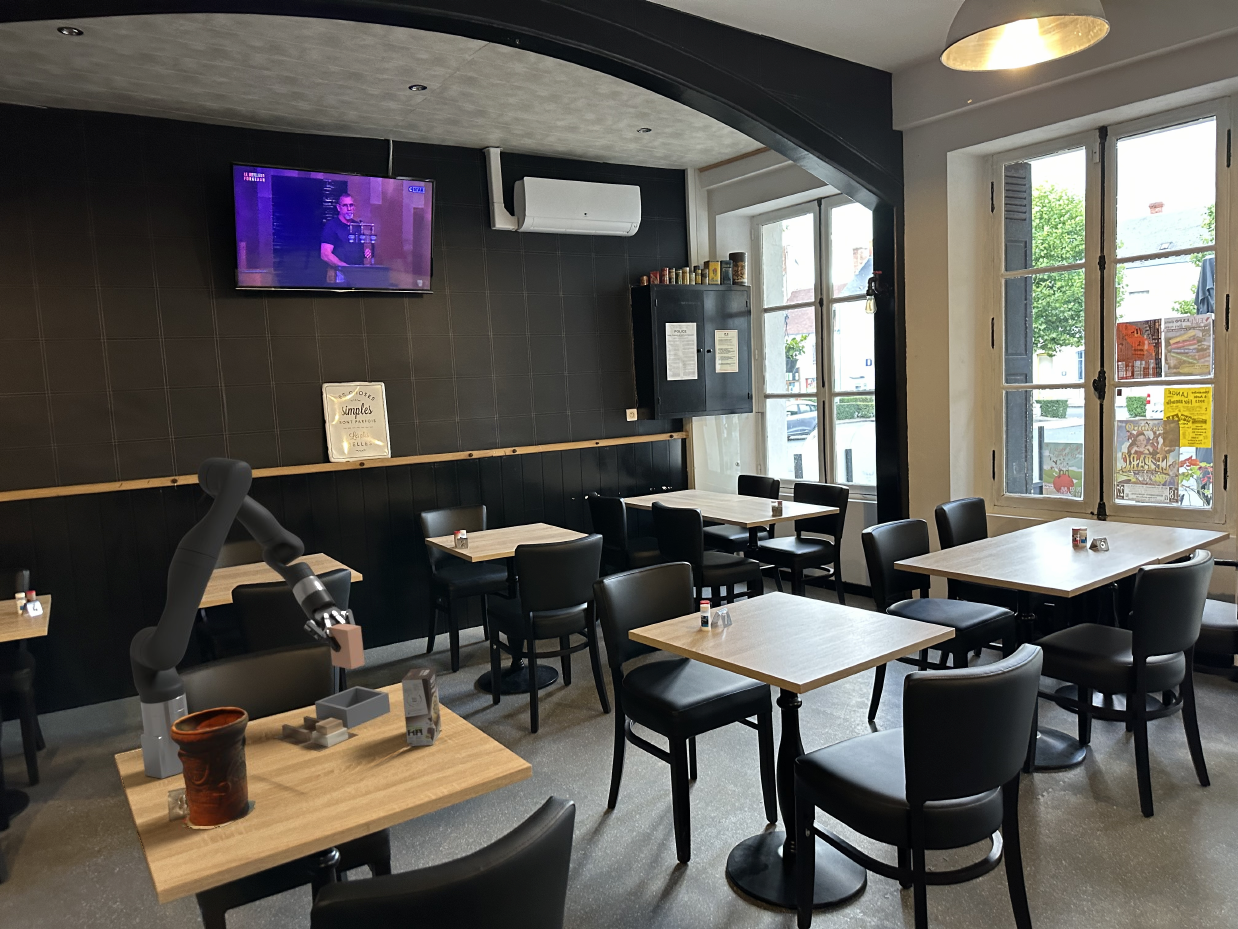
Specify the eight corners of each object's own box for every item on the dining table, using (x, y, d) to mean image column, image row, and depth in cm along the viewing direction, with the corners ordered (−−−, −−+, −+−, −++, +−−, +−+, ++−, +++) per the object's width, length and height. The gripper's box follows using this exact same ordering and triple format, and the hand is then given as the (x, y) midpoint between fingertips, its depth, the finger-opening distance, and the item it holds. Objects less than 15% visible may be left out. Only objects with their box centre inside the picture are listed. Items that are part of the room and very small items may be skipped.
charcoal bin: (317, 724, 223) (314, 702, 222) (359, 707, 233) (357, 686, 233) (348, 733, 215) (346, 709, 215) (390, 715, 225) (388, 693, 225)
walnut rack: (273, 741, 213) (272, 727, 213) (312, 725, 222) (311, 712, 222) (320, 755, 202) (318, 741, 202) (359, 738, 211) (357, 724, 211)
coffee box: (434, 745, 203) (427, 678, 202) (406, 747, 204) (400, 680, 202) (442, 730, 213) (436, 666, 211) (416, 732, 213) (410, 667, 211)
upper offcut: (316, 732, 208) (315, 724, 208) (332, 725, 211) (331, 717, 211) (327, 735, 205) (326, 727, 205) (343, 728, 209) (342, 720, 209)
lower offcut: (313, 742, 208) (312, 732, 208) (333, 734, 213) (332, 724, 212) (328, 747, 205) (327, 736, 204) (348, 738, 209) (347, 728, 209)
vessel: (180, 807, 180) (172, 713, 179) (255, 792, 186) (247, 701, 184) (176, 838, 167) (167, 737, 165) (256, 820, 173) (248, 722, 171)
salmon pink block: (332, 665, 224) (328, 627, 223) (345, 660, 227) (341, 623, 226) (351, 669, 219) (347, 630, 218) (364, 664, 222) (360, 626, 221)
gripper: (294, 594, 221) (328, 646, 215) (341, 582, 233) (374, 631, 226) (284, 613, 225) (317, 664, 219) (331, 600, 236) (364, 648, 230)
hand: (346, 647), depth 223 cm, fingers closed on salmon pink block, 4 cm apart
